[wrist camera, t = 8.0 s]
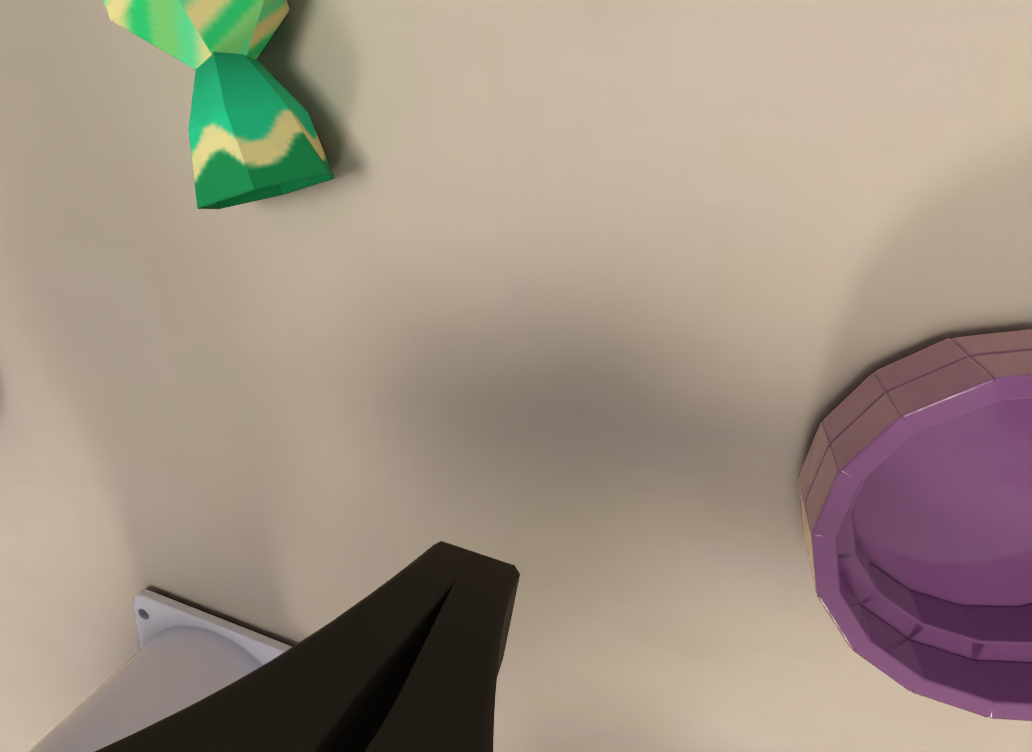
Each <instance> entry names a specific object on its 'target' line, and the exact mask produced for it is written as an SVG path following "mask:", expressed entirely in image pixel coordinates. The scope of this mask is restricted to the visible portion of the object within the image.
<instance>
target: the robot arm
mask: <svg viewBox="0 0 1032 752" xmlns="http://www.w3.org/2000/svg"><path fill="white" fill-rule="evenodd" d="M519 576H520V573H519V572H518V570H517V569H516V567H515V566H514V565H511V564H508V563H505V562H502V561H499V560H496V559H493V558H490V557H487V556H484V555H481V554H478V553H475V552H472V551H469V550H466V549H463V548H460V547H457V546H454V545H451V544H448V543H445V542H442V541H441V542H439V543H437V544H434V545H433V546H432V547H431V548H429V549H428V550H427V551H426V552H424V553H423V554H422V555H421V556H419V557H418V558H417V559H416V560H414V561H413V562H412V563H411V564H409V565H408V566H407V567H406V568H404V569H403V570H402V571H400V572H399V573H398V574H397V575H395V576H394V577H393V578H391V579H390V580H389V581H387V582H386V583H385V584H383V585H382V586H381V587H379V588H378V589H377V590H375V591H374V592H373V593H371V594H370V595H368V596H367V597H366V598H364V599H363V600H361V601H360V602H359V603H357V604H356V605H354V606H353V607H352V608H350V609H349V610H347V611H346V612H344V613H343V614H342V615H340V616H339V617H337V618H336V619H335V620H333V621H332V622H330V623H329V624H327V625H326V626H324V627H323V628H321V629H320V630H318V631H317V632H315V633H313V634H312V635H310V636H309V637H307V638H306V639H304V640H302V641H301V642H299V643H298V644H296V645H295V646H293V647H292V646H290V645H287V644H284V643H282V642H279V641H277V640H274V639H272V638H269V637H267V636H264V635H262V634H259V633H256V632H254V631H251V630H249V629H246V628H244V627H241V626H239V625H236V624H234V623H231V622H228V621H226V620H223V619H221V618H218V617H216V616H213V615H211V614H208V613H206V612H203V611H201V610H198V609H195V608H193V607H190V606H188V605H185V604H183V603H180V602H178V601H175V600H173V599H170V598H167V597H165V596H162V595H160V594H157V593H155V592H152V591H150V590H142V591H140V592H139V593H138V594H137V595H135V597H134V608H135V616H136V624H137V632H138V640H139V648H140V651H139V652H138V653H137V654H136V655H135V656H133V657H132V658H131V659H130V660H129V661H128V662H127V663H126V664H125V665H124V666H122V667H121V668H120V669H119V670H118V671H117V672H116V673H115V674H114V675H113V676H111V677H110V678H109V679H108V680H107V681H106V682H105V683H104V684H103V685H102V686H100V687H99V688H98V689H97V690H96V691H95V692H94V693H93V694H92V695H91V696H90V697H88V698H87V699H86V700H85V701H84V702H83V703H82V704H81V705H80V706H79V707H77V708H76V709H75V710H74V711H73V712H72V713H71V714H70V715H69V716H68V717H66V718H65V719H64V720H63V721H62V722H61V723H60V724H59V725H58V726H57V727H55V728H54V729H53V730H52V731H51V732H50V733H49V734H48V735H47V736H46V737H44V738H43V739H42V740H41V741H40V742H39V743H38V744H37V745H36V746H35V747H33V748H32V749H31V750H30V751H29V752H493V731H494V707H495V692H496V681H497V675H498V672H499V669H500V666H501V663H502V660H503V656H504V651H505V646H506V641H507V636H508V631H509V626H510V621H511V616H512V611H513V606H514V601H515V596H516V591H517V586H518V581H519Z"/></svg>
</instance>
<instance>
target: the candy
mask: <svg viewBox="0 0 1032 752" xmlns="http://www.w3.org/2000/svg"><path fill="white" fill-rule="evenodd" d="M103 2H104V5H105V7H106V10H107V12H108V15H109V17H110V20H111V21H113V22H115V23H117V24H118V25H120V26H122V27H123V28H125V29H127V30H129V31H130V32H132V33H134V34H135V35H137V36H139V37H141V38H142V39H144V40H146V41H147V42H149V43H151V44H153V45H154V46H156V47H158V48H159V49H161V50H163V51H165V52H166V53H168V54H170V55H171V56H173V57H175V58H177V59H178V60H180V61H182V62H183V63H185V64H187V65H189V66H190V67H192V68H194V69H196V73H195V82H194V90H193V98H192V106H191V115H190V123H189V137H190V146H191V155H192V163H193V172H194V181H195V189H196V198H197V207H198V209H221V208H225V207H230V206H234V205H239V204H243V203H248V202H252V201H257V200H261V199H265V198H270V197H274V196H279V195H283V194H286V193H290V192H293V191H296V190H299V189H302V188H306V187H309V186H312V185H315V184H318V183H322V182H325V181H328V180H331V179H334V175H333V173H332V170H331V168H330V165H329V163H328V160H327V158H326V155H325V153H324V150H323V148H322V146H321V143H320V141H319V138H318V136H317V133H316V131H315V128H314V126H313V123H312V121H311V119H310V116H309V114H308V112H307V110H306V109H305V108H304V107H303V106H302V105H301V104H300V103H299V102H298V101H297V100H296V99H295V98H294V97H293V96H292V95H291V94H290V93H289V92H288V91H287V90H286V89H285V88H284V87H283V86H282V85H281V84H280V83H279V82H278V81H277V80H276V79H275V78H274V77H273V76H272V75H271V74H270V73H269V72H268V71H267V70H266V69H265V68H264V67H263V66H262V65H261V64H260V62H259V61H258V60H257V58H258V57H259V55H260V54H261V52H262V51H263V49H264V48H265V46H266V45H267V43H268V42H269V40H270V39H271V37H272V36H273V34H274V33H275V31H276V30H277V28H278V27H279V25H280V24H281V22H282V21H283V19H284V18H285V16H286V15H287V13H288V12H289V10H290V9H289V6H288V3H287V0H103Z"/></svg>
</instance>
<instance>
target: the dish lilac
mask: <svg viewBox="0 0 1032 752" xmlns="http://www.w3.org/2000/svg"><path fill="white" fill-rule="evenodd" d="M799 492H800V503H801V514H802V525H803V533H804V538H805V542H806V547H807V552H808V556H809V562H810V567H811V571H812V576H813V581H814V586H815V590H816V593H817V597H818V598H819V600H820V601H821V603H822V604H823V606H824V608H825V609H826V611H827V612H828V614H829V615H830V617H831V619H832V620H833V622H834V623H835V625H836V626H837V628H838V630H839V631H840V633H841V634H842V636H843V637H844V639H845V641H846V642H847V644H848V645H849V647H850V648H851V649H852V650H853V651H854V652H855V653H857V654H858V655H860V656H861V657H862V658H864V659H865V660H867V661H868V662H869V663H871V664H872V665H874V666H875V667H876V668H878V669H879V670H881V671H882V672H883V673H885V674H886V675H888V676H889V677H890V678H892V679H893V680H895V681H896V682H897V683H899V684H900V685H902V686H903V687H904V688H906V689H907V690H909V691H912V692H913V693H915V694H918V695H921V696H924V697H927V698H930V699H933V700H936V701H939V702H942V703H945V704H948V705H951V706H954V707H957V708H960V709H963V710H966V711H969V712H972V713H975V714H978V715H981V716H984V717H990V718H992V719H1007V720H1021V721H1032V329H1028V330H1018V331H1009V332H1000V333H991V334H982V335H973V336H964V337H955V338H952V340H951V339H950V338H948V339H945V340H943V341H941V342H938V343H936V344H934V345H932V346H929V347H927V348H925V349H923V350H921V351H918V352H916V353H914V354H912V355H909V356H907V357H905V358H903V359H900V360H898V361H896V362H894V363H891V364H889V365H887V366H885V367H882V368H880V369H878V370H876V371H874V373H872V374H871V375H870V376H868V377H867V378H866V379H865V380H864V381H863V382H862V383H861V384H860V385H859V386H858V387H857V388H856V389H855V390H854V391H853V392H852V393H851V394H850V395H849V396H848V397H847V398H846V399H844V400H843V401H842V402H841V403H840V404H839V405H838V406H837V407H836V408H835V409H834V410H833V411H832V412H831V413H830V414H829V415H828V416H827V417H826V418H825V419H824V420H823V422H821V423H820V425H819V428H818V430H817V433H816V435H815V438H814V440H813V442H812V445H811V447H810V450H809V452H808V455H807V457H806V460H805V462H804V464H803V467H802V469H801V472H800V474H799Z"/></svg>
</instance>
